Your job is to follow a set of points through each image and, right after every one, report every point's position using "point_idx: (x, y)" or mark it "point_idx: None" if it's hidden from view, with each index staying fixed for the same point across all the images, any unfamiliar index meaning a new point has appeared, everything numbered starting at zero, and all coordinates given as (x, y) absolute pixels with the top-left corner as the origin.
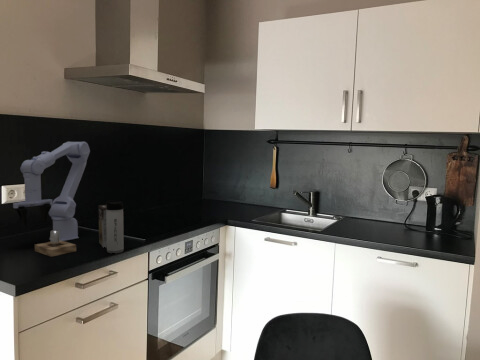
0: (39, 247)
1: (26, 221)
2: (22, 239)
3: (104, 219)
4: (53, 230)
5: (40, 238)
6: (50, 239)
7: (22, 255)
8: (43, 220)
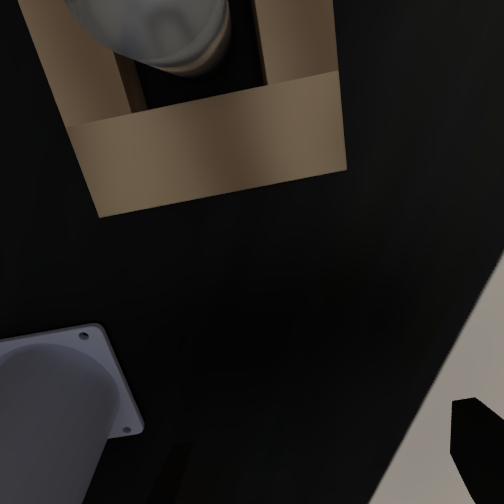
0: (335, 66)
1: (500, 449)
2: (278, 497)
3: None
4: (153, 18)
5: None
6: (227, 22)
7: (460, 80)
8: (192, 486)
